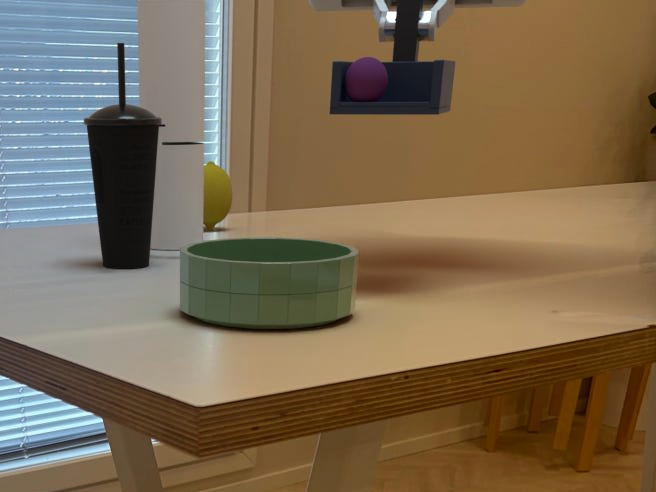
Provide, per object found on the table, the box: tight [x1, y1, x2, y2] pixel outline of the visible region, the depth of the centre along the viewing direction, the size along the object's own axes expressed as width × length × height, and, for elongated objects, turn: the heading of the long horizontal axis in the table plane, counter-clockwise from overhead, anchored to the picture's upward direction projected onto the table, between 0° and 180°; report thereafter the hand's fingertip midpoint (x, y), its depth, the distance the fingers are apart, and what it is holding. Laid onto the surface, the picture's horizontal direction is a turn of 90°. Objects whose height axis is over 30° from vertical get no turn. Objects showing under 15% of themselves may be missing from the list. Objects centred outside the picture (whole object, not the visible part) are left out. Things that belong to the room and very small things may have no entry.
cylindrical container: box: [137, 0, 206, 251], centre depth 113 cm, size 7×7×25 cm
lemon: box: [203, 160, 233, 231], centre depth 130 cm, size 6×6×8 cm
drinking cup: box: [83, 42, 162, 270], centre depth 102 cm, size 8×8×20 cm
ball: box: [344, 56, 388, 102], centre depth 86 cm, size 4×4×4 cm
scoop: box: [329, 0, 456, 116], centre depth 87 cm, size 9×12×10 cm
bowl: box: [179, 236, 360, 330], centre depth 83 cm, size 14×14×5 cm
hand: (406, 35), depth 90 cm, fingers closed on scoop
